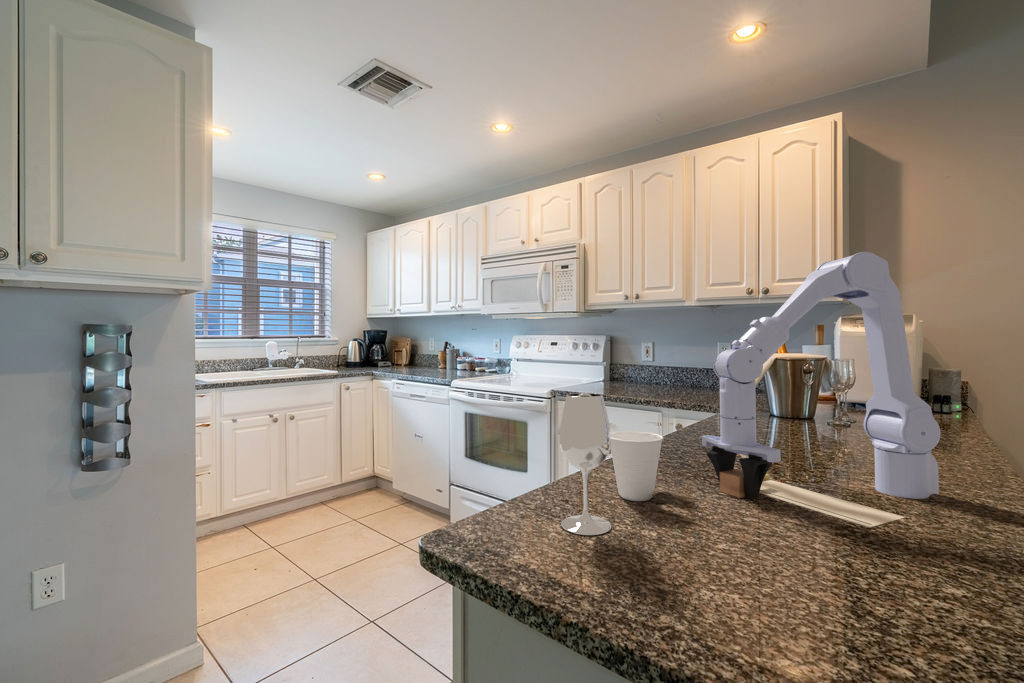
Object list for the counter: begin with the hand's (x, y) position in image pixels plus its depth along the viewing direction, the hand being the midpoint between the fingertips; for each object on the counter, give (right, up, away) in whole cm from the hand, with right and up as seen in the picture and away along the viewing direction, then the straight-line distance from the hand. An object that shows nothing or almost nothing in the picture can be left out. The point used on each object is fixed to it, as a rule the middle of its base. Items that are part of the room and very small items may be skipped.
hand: (739, 494), depth 81 cm
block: (+2, -1, +1) cm, 3 cm away
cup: (-17, -2, +3) cm, 18 cm away
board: (+10, -1, -4) cm, 11 cm away
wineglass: (-29, -1, -11) cm, 31 cm away
